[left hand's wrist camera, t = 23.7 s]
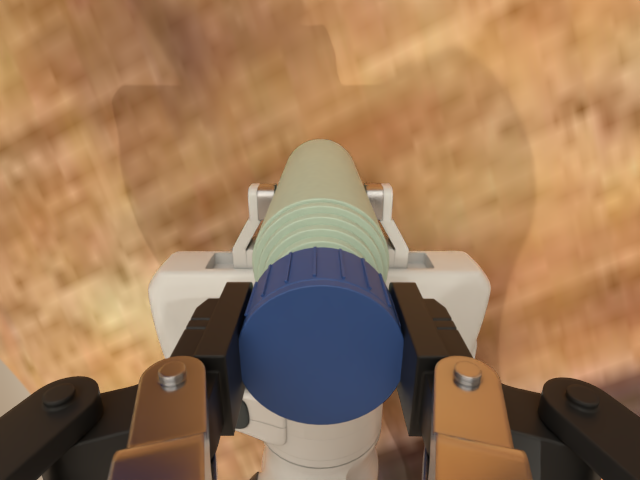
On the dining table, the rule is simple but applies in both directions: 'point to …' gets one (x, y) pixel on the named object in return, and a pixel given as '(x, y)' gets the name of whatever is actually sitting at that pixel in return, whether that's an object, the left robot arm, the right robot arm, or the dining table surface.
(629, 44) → the dining table surface
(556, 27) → the dining table surface
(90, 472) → the left robot arm
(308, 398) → the cap
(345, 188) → the bottle
